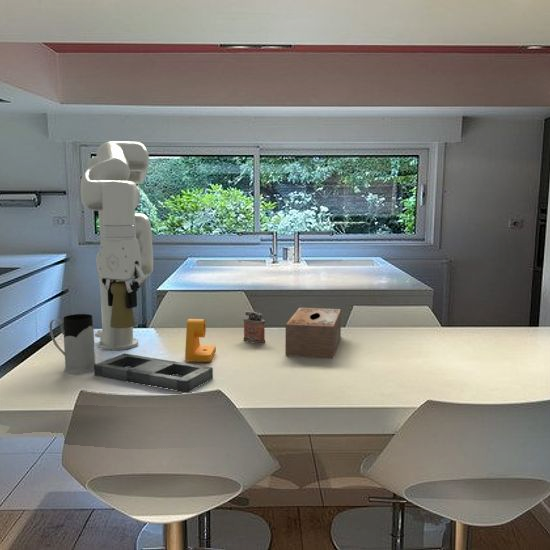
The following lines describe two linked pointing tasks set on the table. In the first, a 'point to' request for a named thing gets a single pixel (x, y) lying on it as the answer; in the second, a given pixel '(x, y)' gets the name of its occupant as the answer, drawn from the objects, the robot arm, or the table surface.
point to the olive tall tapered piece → (121, 307)
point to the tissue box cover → (313, 332)
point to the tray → (154, 372)
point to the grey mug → (77, 343)
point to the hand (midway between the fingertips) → (122, 305)
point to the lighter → (254, 328)
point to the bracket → (197, 342)
